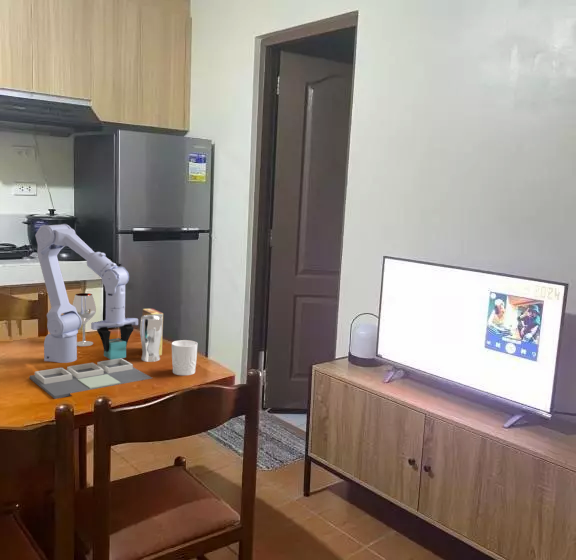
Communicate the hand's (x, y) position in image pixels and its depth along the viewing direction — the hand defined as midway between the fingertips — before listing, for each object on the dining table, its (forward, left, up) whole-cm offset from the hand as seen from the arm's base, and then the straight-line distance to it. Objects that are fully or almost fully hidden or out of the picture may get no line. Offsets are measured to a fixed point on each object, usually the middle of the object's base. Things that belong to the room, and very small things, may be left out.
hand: (114, 349), depth 189 cm
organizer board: (-3, -10, -7) cm, 12 cm away
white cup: (+22, +1, -7) cm, 23 cm away
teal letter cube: (0, 0, -2) cm, 2 cm away
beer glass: (+8, +12, -7) cm, 16 cm away
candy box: (+6, +20, -7) cm, 22 cm away
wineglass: (-21, +27, -7) cm, 35 cm away
